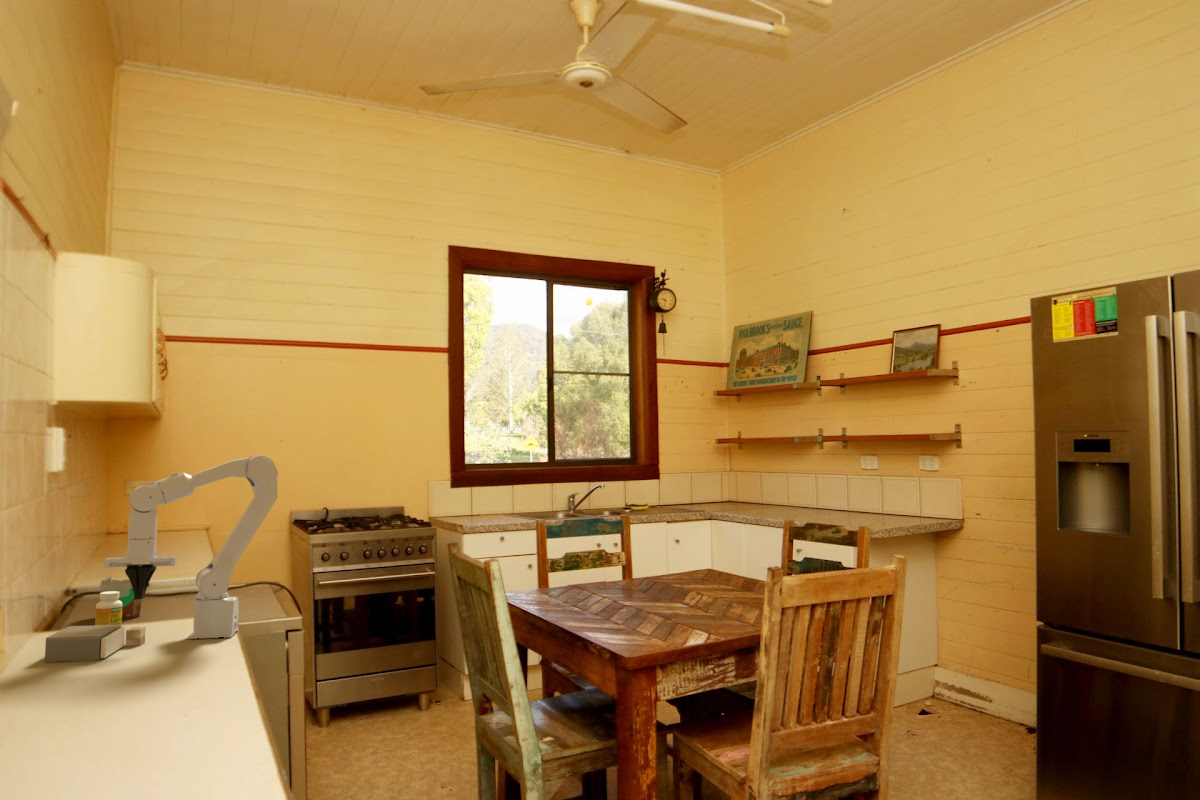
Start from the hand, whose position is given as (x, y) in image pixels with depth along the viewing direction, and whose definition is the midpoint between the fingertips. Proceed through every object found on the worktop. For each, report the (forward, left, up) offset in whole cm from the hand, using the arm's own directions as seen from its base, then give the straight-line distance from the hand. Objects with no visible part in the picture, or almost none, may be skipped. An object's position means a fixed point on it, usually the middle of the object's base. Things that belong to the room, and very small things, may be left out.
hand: (139, 598), depth 180 cm
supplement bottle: (+10, -11, -10) cm, 18 cm away
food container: (+15, -30, -10) cm, 35 cm away
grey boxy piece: (+7, +10, -10) cm, 16 cm away
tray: (+6, +9, -10) cm, 15 cm away
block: (0, +2, -10) cm, 10 cm away
